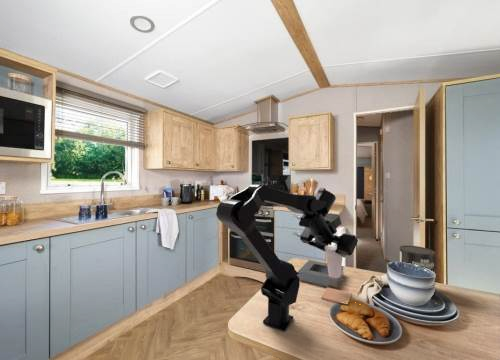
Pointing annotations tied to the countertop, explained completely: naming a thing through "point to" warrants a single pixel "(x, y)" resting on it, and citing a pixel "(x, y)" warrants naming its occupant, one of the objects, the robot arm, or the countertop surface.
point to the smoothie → (333, 261)
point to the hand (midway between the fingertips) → (336, 253)
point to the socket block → (318, 274)
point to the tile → (336, 295)
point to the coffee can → (418, 256)
